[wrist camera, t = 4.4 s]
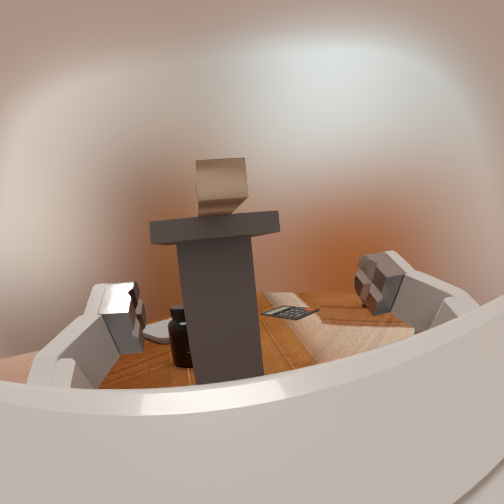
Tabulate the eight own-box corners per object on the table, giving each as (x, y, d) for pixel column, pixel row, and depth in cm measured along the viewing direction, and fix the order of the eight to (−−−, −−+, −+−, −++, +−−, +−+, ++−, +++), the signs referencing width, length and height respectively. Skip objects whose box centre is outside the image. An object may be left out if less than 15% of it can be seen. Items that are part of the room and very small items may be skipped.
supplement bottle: (200, 368, 51) (191, 310, 51) (168, 367, 52) (158, 311, 52) (209, 355, 58) (202, 302, 57) (180, 355, 59) (172, 303, 58)
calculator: (296, 318, 79) (260, 312, 90) (296, 321, 79) (260, 315, 90) (319, 308, 87) (284, 304, 98) (319, 311, 87) (284, 307, 98)
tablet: (233, 322, 85) (233, 315, 85) (164, 347, 65) (163, 339, 65) (199, 316, 95) (198, 310, 95) (134, 336, 75) (133, 328, 75)
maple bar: (248, 196, 17) (244, 157, 17) (198, 200, 16) (195, 160, 16) (219, 225, 39) (217, 207, 38) (197, 227, 38) (196, 209, 38)
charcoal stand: (294, 439, 27) (278, 210, 27) (192, 456, 25) (149, 221, 24) (266, 389, 41) (250, 223, 40) (191, 399, 39) (165, 230, 38)
